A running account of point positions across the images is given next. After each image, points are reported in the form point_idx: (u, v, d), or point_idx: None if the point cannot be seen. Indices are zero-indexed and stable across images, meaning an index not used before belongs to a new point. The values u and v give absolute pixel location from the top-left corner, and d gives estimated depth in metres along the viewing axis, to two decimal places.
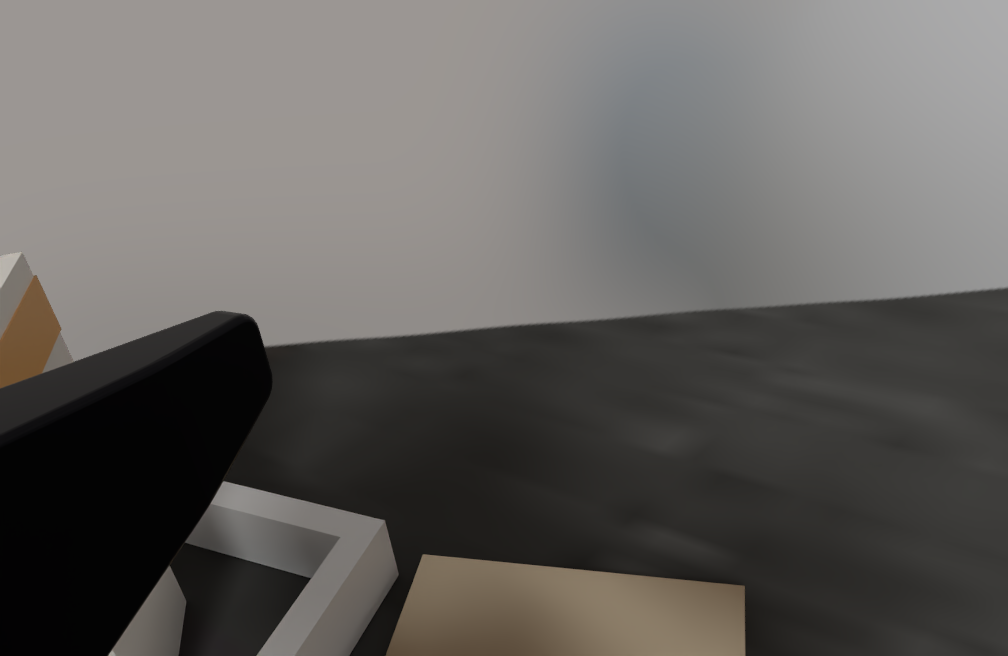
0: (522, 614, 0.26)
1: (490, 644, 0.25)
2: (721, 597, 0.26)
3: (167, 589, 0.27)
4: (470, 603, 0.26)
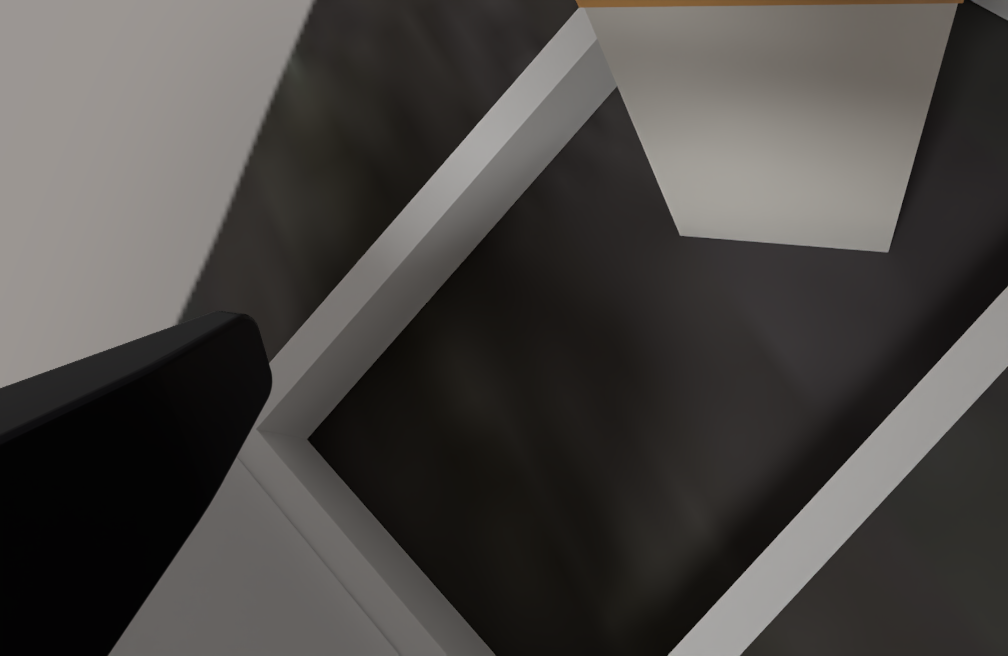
0: None
1: None
2: None
3: None
4: None
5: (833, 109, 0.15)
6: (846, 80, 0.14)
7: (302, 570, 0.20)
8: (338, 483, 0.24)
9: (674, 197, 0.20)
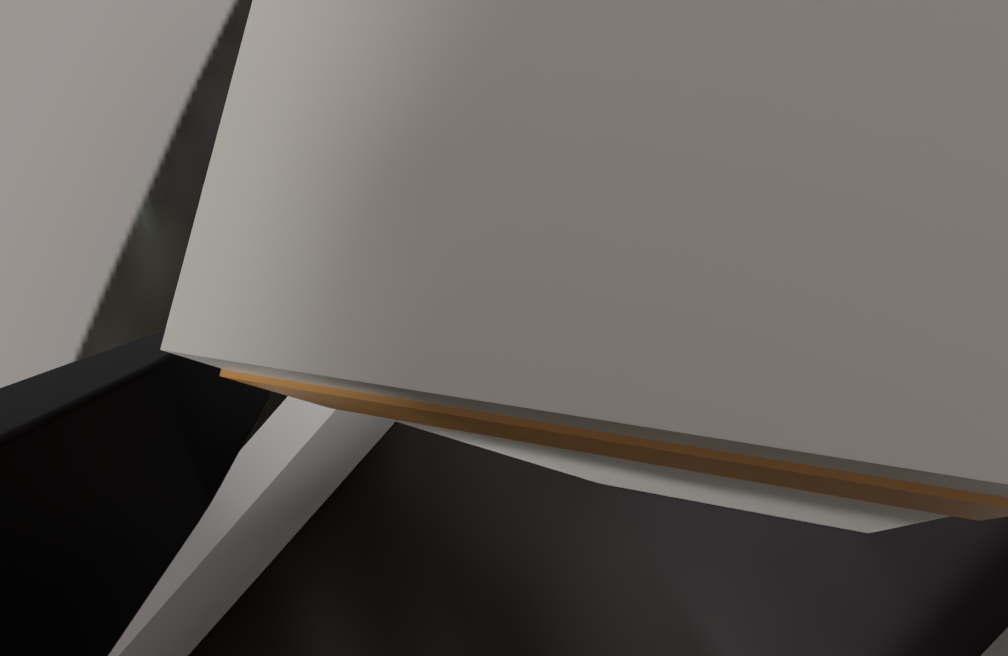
0: None
1: None
2: None
3: None
4: None
5: (770, 497, 0.09)
6: (784, 495, 0.08)
7: None
8: None
9: (578, 475, 0.15)
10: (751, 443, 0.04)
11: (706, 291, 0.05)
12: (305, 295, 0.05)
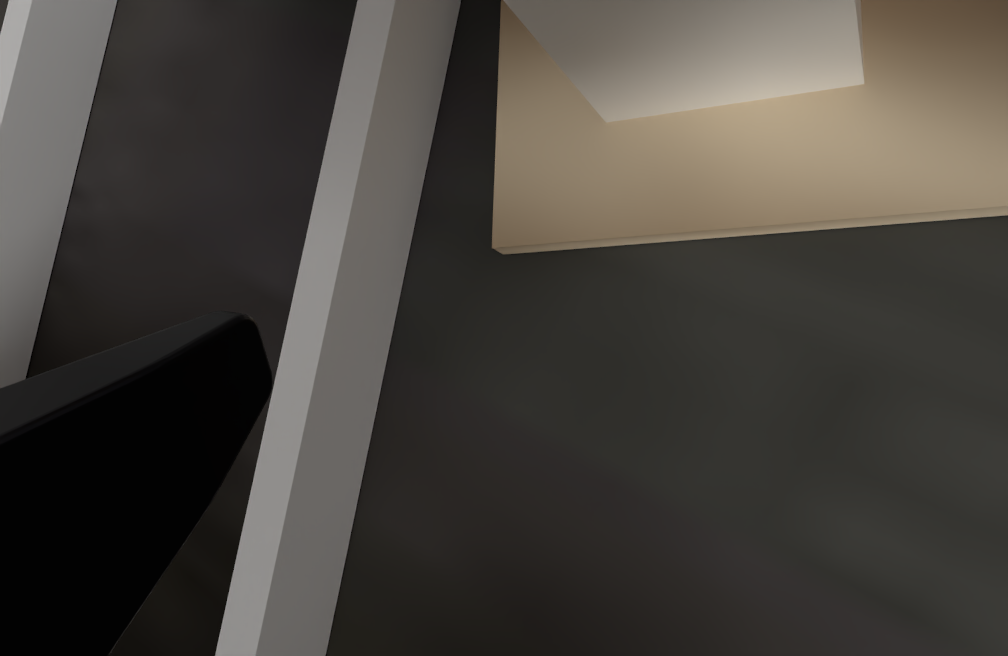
0: None
1: None
2: None
3: None
4: None
5: None
6: None
7: None
8: None
9: (570, 62, 0.16)
10: None
11: None
12: None
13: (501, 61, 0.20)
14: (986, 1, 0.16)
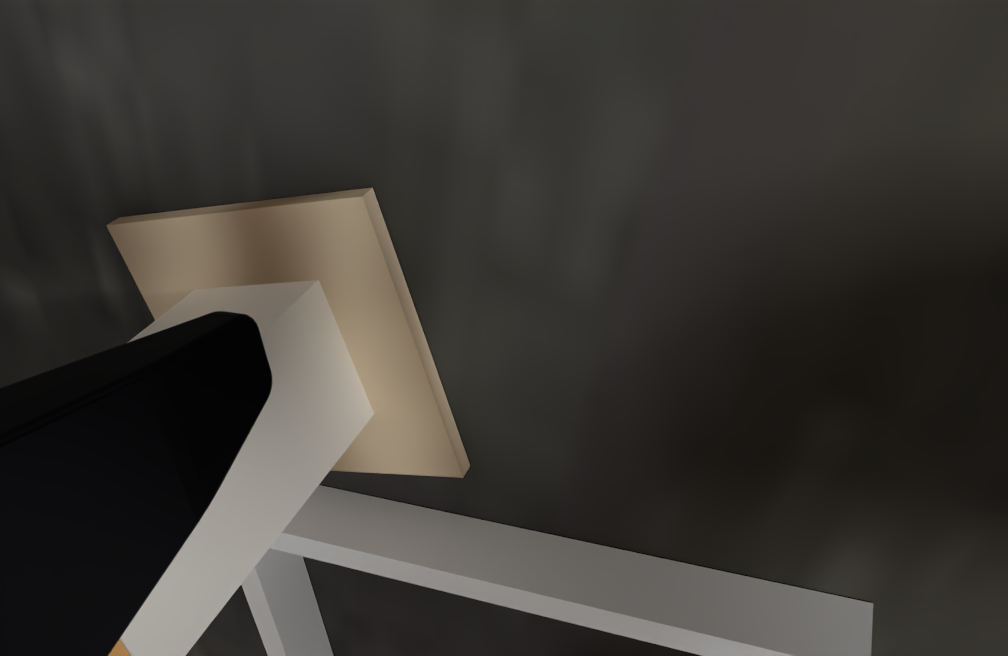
0: None
1: None
2: (126, 242, 0.28)
3: (183, 313, 0.27)
4: None
5: None
6: None
7: None
8: None
9: (327, 463, 0.26)
10: None
11: None
12: None
13: (354, 470, 0.30)
14: (260, 221, 0.26)
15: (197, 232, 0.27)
